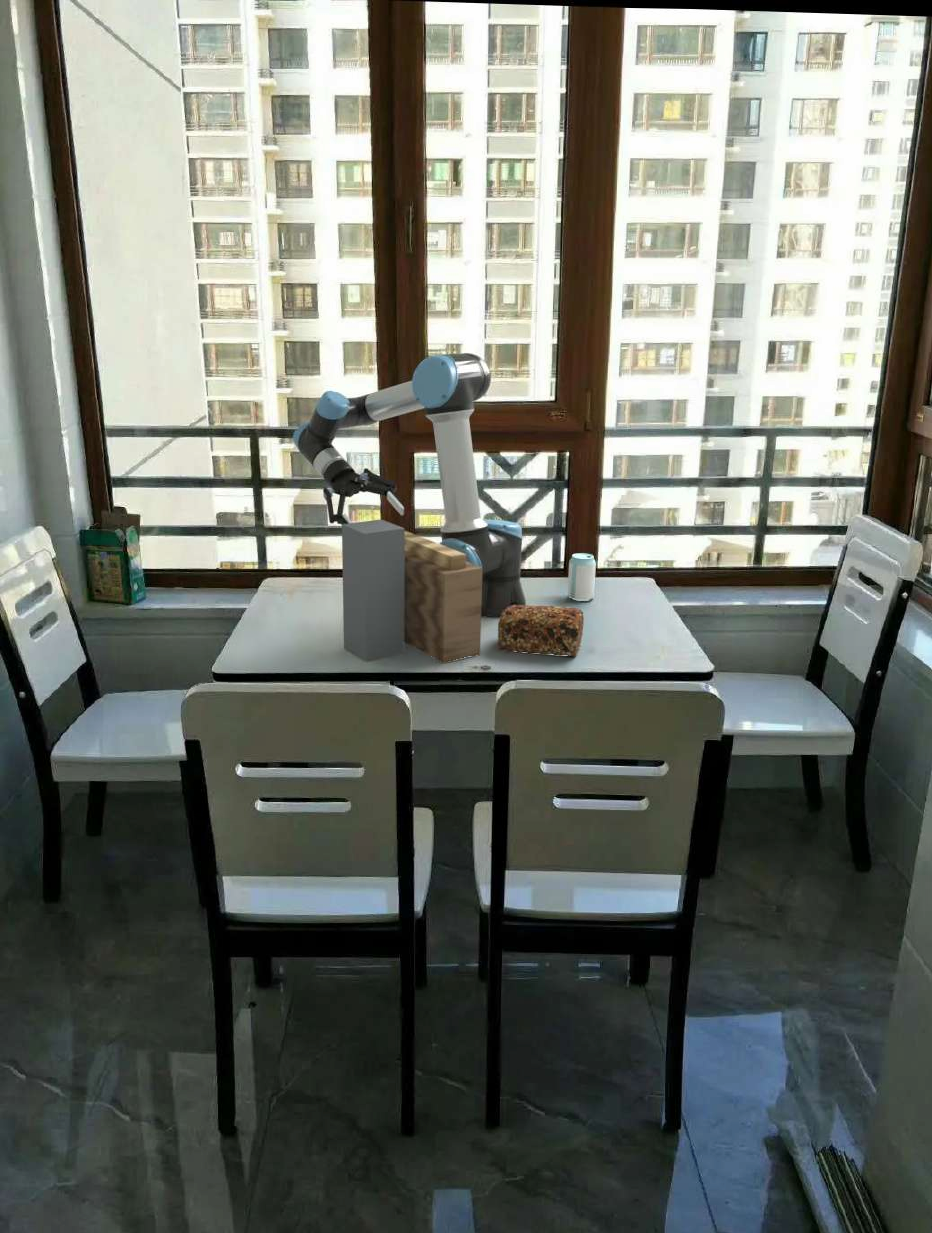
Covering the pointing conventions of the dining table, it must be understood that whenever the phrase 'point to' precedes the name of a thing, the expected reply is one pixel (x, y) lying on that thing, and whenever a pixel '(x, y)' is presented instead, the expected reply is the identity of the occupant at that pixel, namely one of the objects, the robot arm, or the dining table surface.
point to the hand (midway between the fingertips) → (380, 523)
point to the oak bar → (434, 552)
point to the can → (581, 576)
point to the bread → (541, 629)
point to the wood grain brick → (442, 608)
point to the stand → (373, 588)
